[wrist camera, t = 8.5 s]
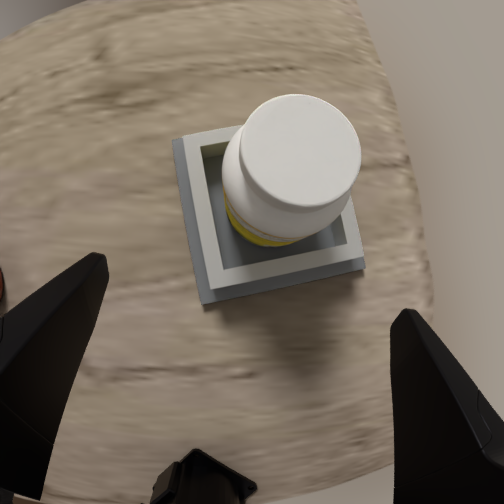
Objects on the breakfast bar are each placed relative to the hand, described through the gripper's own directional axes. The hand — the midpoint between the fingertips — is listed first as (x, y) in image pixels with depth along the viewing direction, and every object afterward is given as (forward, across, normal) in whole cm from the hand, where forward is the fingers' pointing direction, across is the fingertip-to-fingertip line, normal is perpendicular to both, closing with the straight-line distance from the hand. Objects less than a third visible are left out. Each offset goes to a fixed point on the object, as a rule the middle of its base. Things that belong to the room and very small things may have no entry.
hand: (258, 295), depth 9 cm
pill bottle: (+13, -1, +5) cm, 14 cm away
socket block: (+14, -1, +5) cm, 15 cm away
